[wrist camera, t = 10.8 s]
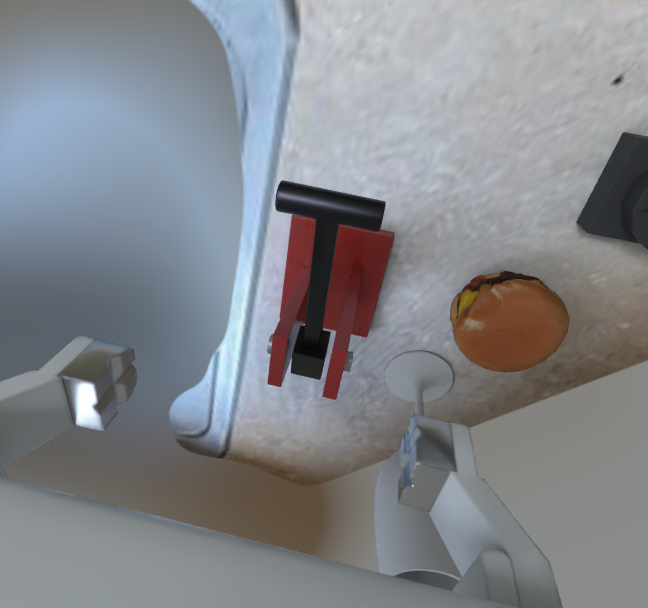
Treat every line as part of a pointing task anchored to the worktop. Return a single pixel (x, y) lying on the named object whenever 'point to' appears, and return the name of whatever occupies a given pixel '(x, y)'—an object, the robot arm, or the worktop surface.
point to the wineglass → (390, 517)
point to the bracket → (329, 295)
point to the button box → (621, 194)
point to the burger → (508, 321)
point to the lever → (322, 258)
